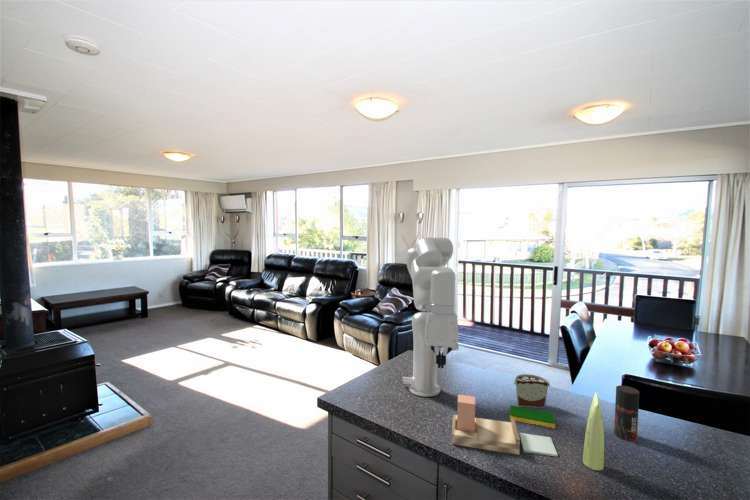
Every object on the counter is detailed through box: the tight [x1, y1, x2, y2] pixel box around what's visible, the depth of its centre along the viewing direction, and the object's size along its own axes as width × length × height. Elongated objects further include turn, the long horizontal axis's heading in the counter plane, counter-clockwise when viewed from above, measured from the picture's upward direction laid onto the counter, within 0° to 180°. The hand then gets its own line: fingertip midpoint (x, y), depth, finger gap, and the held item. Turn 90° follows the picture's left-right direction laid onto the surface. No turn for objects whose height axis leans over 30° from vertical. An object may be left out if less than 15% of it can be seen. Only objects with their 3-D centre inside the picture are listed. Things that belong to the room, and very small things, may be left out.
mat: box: [518, 432, 559, 458], centre depth 106 cm, size 9×9×1 cm
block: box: [456, 394, 476, 433], centre depth 110 cm, size 5×5×10 cm
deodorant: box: [613, 385, 640, 442], centre depth 111 cm, size 6×6×15 cm
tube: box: [582, 391, 605, 471], centre depth 96 cm, size 6×5×20 cm
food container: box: [513, 373, 550, 409], centre depth 132 cm, size 12×6×10 cm, turn 84°
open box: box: [451, 414, 521, 456], centre depth 109 cm, size 19×12×4 cm, turn 76°
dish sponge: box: [509, 405, 556, 429], centre depth 121 cm, size 7×14×2 cm, turn 68°
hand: (440, 366), depth 112 cm, fingers closed
